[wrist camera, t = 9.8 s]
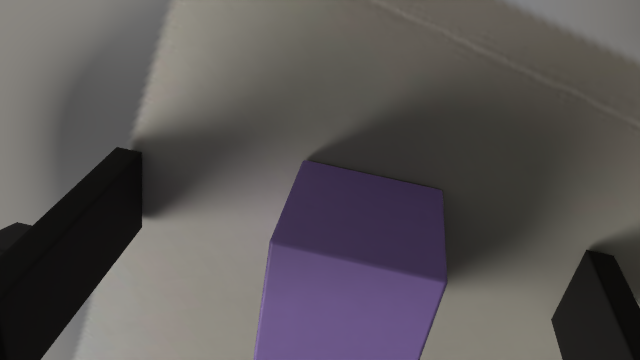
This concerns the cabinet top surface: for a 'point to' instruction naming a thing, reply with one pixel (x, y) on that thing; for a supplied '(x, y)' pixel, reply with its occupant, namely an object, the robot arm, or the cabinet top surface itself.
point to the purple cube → (352, 269)
